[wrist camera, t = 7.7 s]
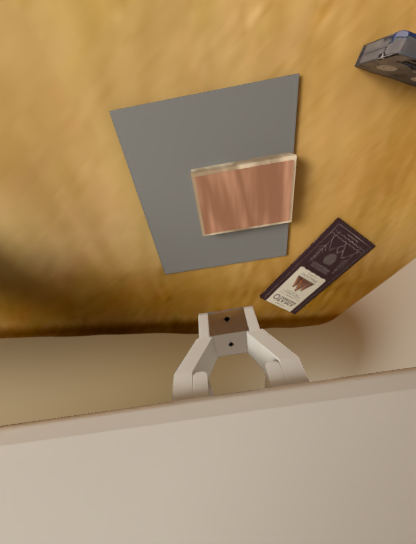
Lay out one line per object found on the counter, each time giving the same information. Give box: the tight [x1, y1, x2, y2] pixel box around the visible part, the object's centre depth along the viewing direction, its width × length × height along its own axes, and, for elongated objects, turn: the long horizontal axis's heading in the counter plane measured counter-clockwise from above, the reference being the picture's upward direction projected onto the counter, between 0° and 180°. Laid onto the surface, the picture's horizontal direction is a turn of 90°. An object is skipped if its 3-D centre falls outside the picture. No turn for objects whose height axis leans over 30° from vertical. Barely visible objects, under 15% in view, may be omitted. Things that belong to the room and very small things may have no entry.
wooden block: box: [191, 152, 297, 236], centre depth 28 cm, size 3×8×12 cm
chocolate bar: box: [260, 218, 375, 314], centre depth 38 cm, size 9×1×18 cm
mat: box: [109, 73, 299, 274], centre depth 29 cm, size 20×22×1 cm
